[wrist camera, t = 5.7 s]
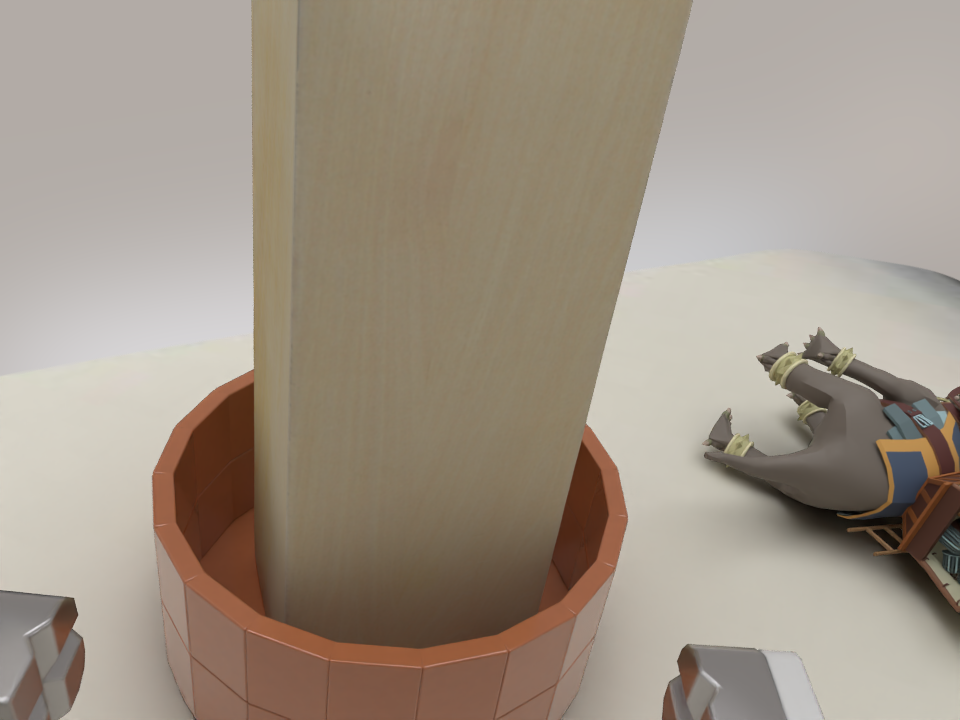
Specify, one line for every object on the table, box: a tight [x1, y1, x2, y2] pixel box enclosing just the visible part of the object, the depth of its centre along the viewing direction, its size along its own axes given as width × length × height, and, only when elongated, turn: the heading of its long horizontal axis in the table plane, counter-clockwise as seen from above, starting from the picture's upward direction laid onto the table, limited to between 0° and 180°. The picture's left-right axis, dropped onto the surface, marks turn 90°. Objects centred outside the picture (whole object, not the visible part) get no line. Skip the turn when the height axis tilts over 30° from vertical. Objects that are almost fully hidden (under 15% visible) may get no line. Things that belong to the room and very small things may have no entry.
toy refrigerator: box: [252, 0, 693, 649], centre depth 24 cm, size 8×7×21 cm
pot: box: [152, 369, 628, 720], centre depth 28 cm, size 14×14×6 cm
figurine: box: [702, 327, 960, 613], centre depth 35 cm, size 20×6×17 cm
